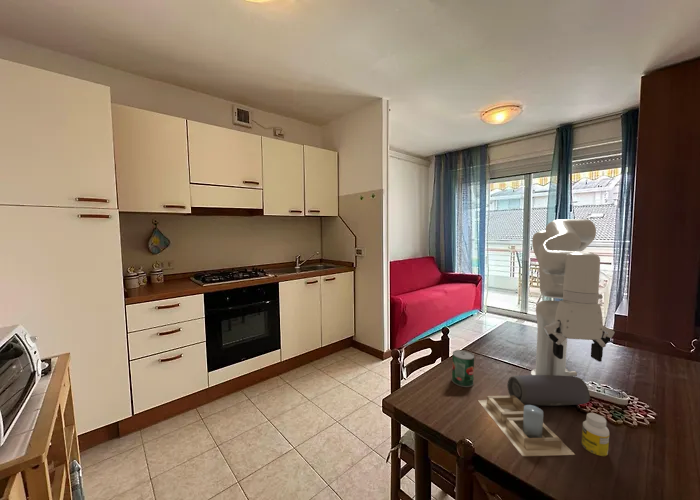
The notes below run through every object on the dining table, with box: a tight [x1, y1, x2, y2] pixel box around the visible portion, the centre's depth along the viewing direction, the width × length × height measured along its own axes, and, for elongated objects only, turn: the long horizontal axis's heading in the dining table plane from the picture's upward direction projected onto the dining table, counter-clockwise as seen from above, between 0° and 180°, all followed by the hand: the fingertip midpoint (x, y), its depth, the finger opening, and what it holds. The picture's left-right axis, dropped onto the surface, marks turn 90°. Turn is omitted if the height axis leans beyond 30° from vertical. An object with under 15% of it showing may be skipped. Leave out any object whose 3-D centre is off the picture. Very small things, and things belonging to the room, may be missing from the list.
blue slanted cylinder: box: [523, 404, 544, 438], centre depth 80 cm, size 5×5×8 cm
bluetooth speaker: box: [507, 374, 590, 407], centre depth 96 cm, size 23×9×10 cm, turn 93°
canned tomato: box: [451, 349, 475, 388], centre depth 111 cm, size 8×8×11 cm
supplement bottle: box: [581, 412, 610, 457], centre depth 76 cm, size 5×5×10 cm
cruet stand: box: [477, 395, 576, 457], centre depth 85 cm, size 24×14×4 cm, turn 2°
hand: (576, 358), depth 79 cm, fingers open, 9 cm apart
